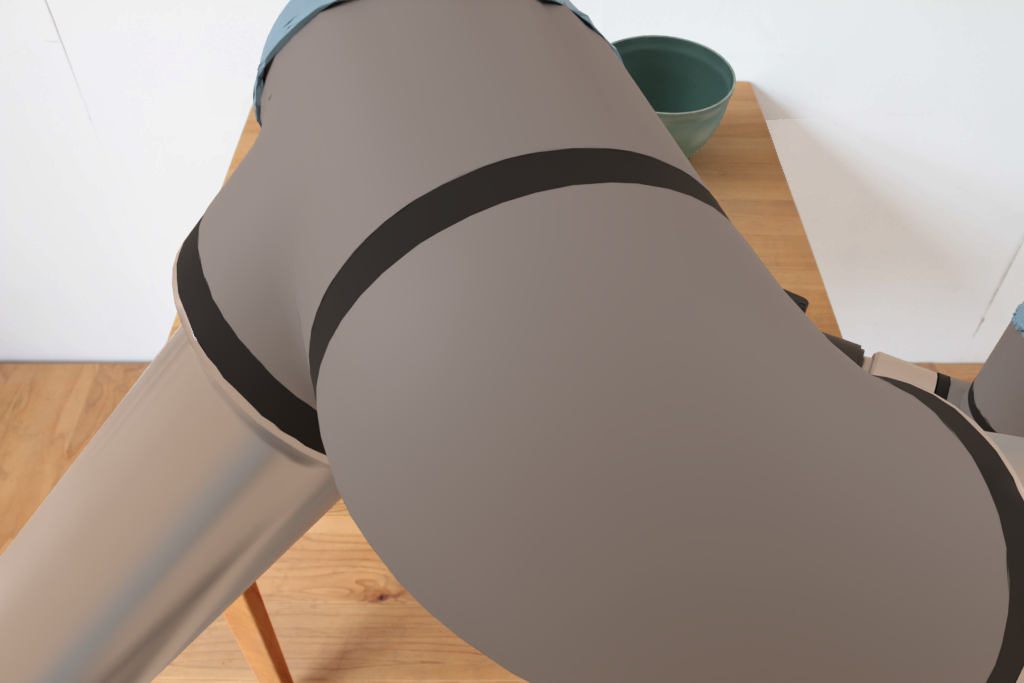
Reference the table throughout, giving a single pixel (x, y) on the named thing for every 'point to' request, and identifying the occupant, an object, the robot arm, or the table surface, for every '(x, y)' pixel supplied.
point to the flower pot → (680, 84)
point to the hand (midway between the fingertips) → (567, 294)
